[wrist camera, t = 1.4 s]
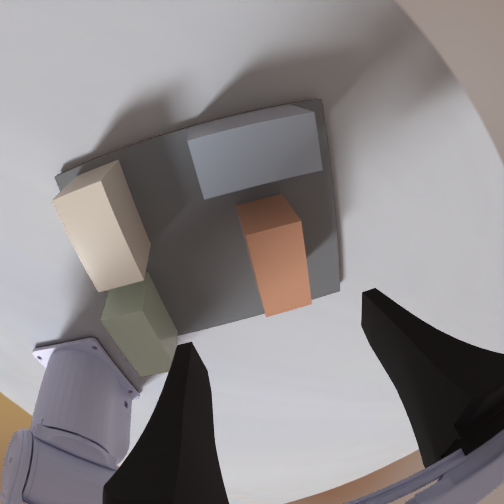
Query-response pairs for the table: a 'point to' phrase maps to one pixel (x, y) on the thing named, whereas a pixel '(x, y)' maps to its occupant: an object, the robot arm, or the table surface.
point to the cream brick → (105, 227)
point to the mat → (217, 228)
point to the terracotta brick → (276, 253)
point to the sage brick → (141, 326)
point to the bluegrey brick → (254, 149)
